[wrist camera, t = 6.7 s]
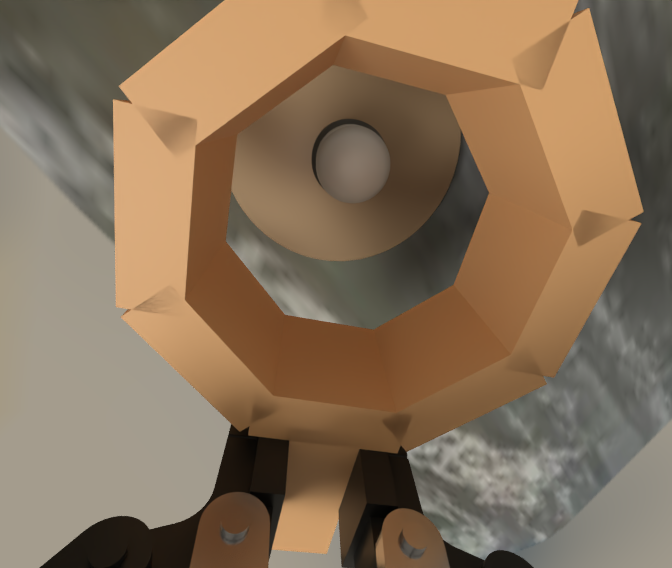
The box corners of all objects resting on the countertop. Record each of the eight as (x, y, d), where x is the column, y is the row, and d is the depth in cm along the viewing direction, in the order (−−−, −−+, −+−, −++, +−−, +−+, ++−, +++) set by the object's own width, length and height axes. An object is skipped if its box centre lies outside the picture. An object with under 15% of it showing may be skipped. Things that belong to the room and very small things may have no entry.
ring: (195, -42, 8) (110, -155, 4) (586, 72, 9) (740, 49, 6) (167, 431, 13) (119, 537, 9) (417, 460, 14) (448, 563, 11)
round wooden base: (240, -23, 15) (172, -145, 8) (484, 48, 17) (616, 2, 10) (215, 229, 20) (157, 301, 12) (411, 267, 21) (462, 351, 14)
